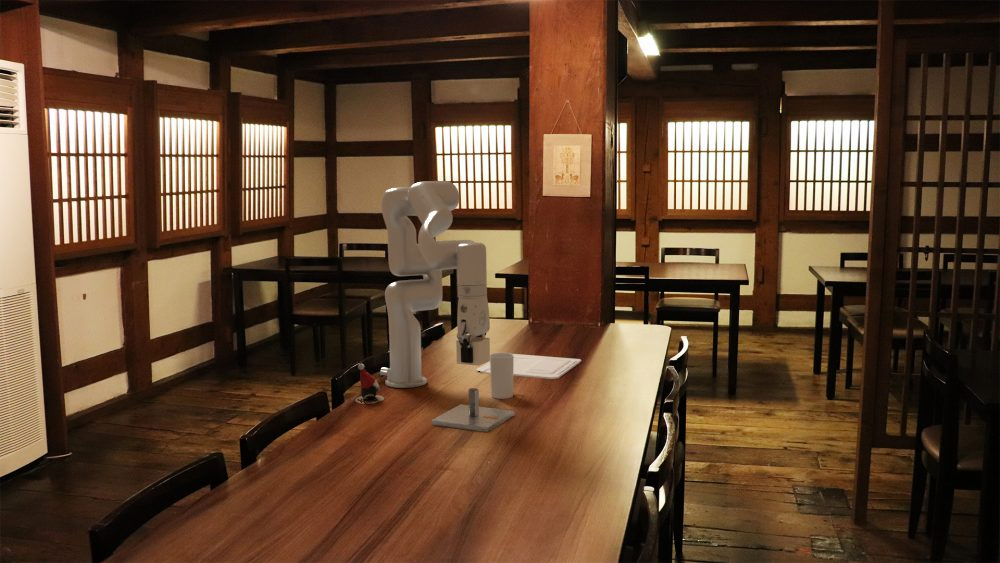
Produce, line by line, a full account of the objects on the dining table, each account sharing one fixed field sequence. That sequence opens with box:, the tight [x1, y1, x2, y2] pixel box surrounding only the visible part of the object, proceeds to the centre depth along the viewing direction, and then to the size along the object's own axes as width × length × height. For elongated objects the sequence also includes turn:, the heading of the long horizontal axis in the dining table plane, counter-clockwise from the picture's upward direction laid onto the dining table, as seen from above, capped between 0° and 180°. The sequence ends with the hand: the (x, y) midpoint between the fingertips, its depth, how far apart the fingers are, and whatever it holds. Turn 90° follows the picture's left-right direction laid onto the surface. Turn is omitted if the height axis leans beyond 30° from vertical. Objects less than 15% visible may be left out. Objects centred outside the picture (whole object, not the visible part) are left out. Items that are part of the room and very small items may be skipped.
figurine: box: [354, 363, 385, 405], centre depth 242 cm, size 8×10×12 cm
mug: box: [489, 352, 514, 400], centre depth 247 cm, size 10×7×12 cm, turn 158°
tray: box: [475, 353, 582, 380], centre depth 283 cm, size 28×28×2 cm
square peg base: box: [431, 387, 515, 433], centre depth 222 cm, size 16×16×8 cm
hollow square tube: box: [455, 337, 491, 367], centre depth 220 cm, size 6×6×6 cm
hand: (473, 359), depth 220 cm, fingers closed on hollow square tube, 6 cm apart
